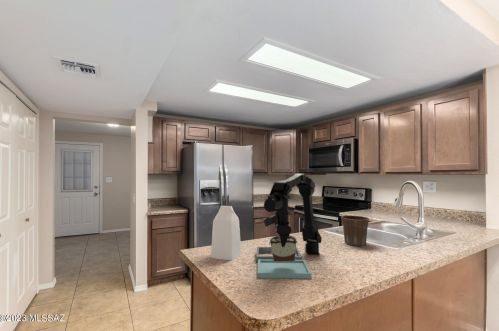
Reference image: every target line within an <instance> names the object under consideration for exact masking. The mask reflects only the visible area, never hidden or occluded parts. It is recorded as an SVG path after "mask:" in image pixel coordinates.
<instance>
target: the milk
mask: <svg viewBox="0 0 499 331" xmlns="http://www.w3.org/2000/svg"><path fill="white" fill-rule="evenodd" d="M240 227H241V226H240V219H239V217H238V215H237V214H236V213H235V211H234V208H233V206H232V205H231V206H230V205H220V207H219V210H218V212H217V213H216V215H215V217H214V219H213V220H212V230H211V232H212V234H211V235H212V236H211V250H210V253H211V254H210V258H211V259H217V260H225V261H234V260H235V259H236V258H238V257H239V256H240V255H241V254H242V246H241V244H242V243H241V230H240Z"/></svg>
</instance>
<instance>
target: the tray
mask: <svg viewBox="0 0 499 331" xmlns="http://www.w3.org/2000/svg"><path fill="white" fill-rule="evenodd" d="M256 276H257V278H259V279H260V278H261V279H308V280H309V279H312V272H311V270H310V268H309V266H308V264H307V262H306V259H302V260H295V261H294V262H274V261H273V260H270V259H258V263H257V275H256Z"/></svg>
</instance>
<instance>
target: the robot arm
mask: <svg viewBox="0 0 499 331" xmlns="http://www.w3.org/2000/svg"><path fill="white" fill-rule="evenodd" d="M315 184H316V183H315V182H314V180H313V178H310V177H308V176H307V175H306V174H305V173H295V174H294V175H292V176H290V177H288V178H287V179H284V180H276V181H274V182H273V184H272V186H271V189H270V192H269V195H267V199H265V200H264V203H263V208H264V210H265V211H266V212H268V213H273V212H274V214H272V215H268V216H266V217H264V218H262V221H263V224H264V226H265V228H266V227H269V226H272V225H274V228H275V232H276V234H277V235H280V240H281V245H282V247H285V244H286V242H287V239H288V237H289V235H290V236H291V233H292V226H291V225H290V221H289V220H290V218H289V217H290V212H289V199H291V196H290V195H289V194H290V193H291V192H292V191H293V188H294V187H296V188H297V189H298V194H300V196H301V197H302V205H303V215H304V224H303V225H304V226H303V227H302V228H301V232H302V233H301V236H302V242H305V243H304V252H305V253H306V255H309V256H311V255H314V256H315V255H316V256H318V255H320V254H321V253H320V248H319V244H322V239H323V238H322V235H321V234H320V232H319V228H318V226H317V224H316V223H315V216H314V205H313V196H314V193H315V190H316V185H315Z"/></svg>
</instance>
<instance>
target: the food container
mask: <svg viewBox="0 0 499 331" xmlns="http://www.w3.org/2000/svg"><path fill="white" fill-rule="evenodd" d="M298 244H299V242H298V240H297V238H296V237H294V236H293V235H291V234H290V235H289V237H288V239H287V242H286V244H285V247H282V245H281V240H280V235H279V234H277V235H275V236H273V237H271V238H270V240H269V244H268V245H269V246H270V247H271V249H272V253H271V256H273V261H274V262H294V261H295V256H297V255H296V247H297V245H298Z"/></svg>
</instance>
